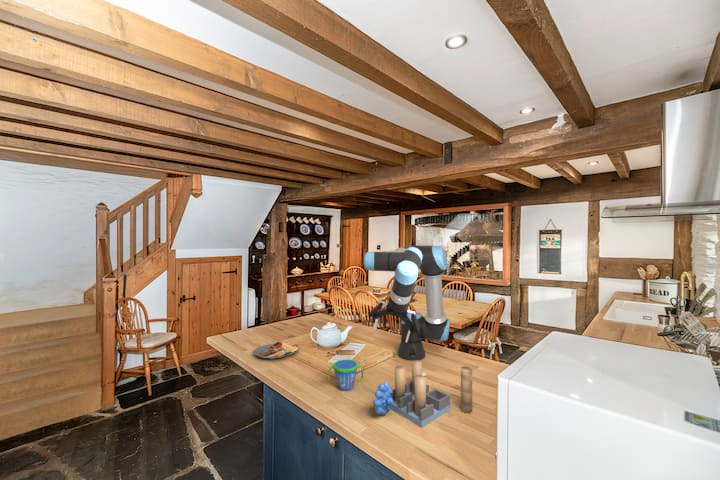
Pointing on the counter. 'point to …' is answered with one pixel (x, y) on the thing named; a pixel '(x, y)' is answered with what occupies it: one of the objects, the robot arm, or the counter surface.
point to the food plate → (273, 351)
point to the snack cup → (345, 373)
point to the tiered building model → (424, 375)
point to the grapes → (383, 399)
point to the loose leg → (466, 389)
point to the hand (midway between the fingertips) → (390, 333)
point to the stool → (418, 397)
